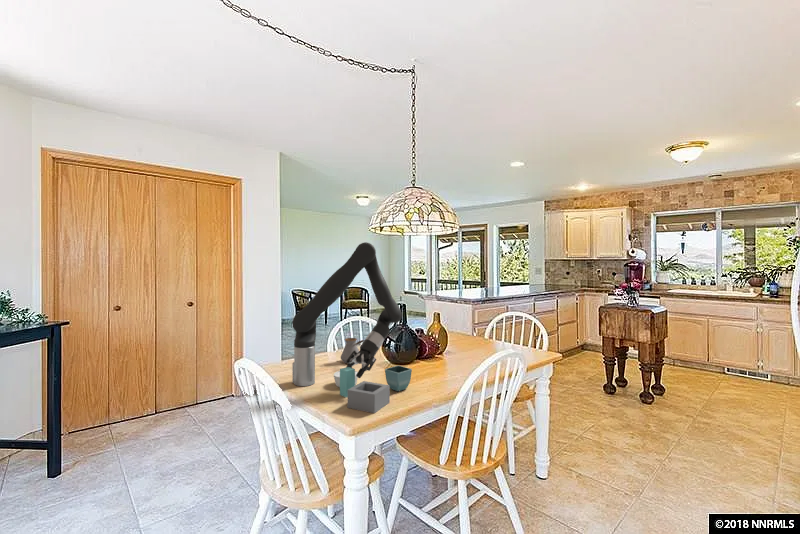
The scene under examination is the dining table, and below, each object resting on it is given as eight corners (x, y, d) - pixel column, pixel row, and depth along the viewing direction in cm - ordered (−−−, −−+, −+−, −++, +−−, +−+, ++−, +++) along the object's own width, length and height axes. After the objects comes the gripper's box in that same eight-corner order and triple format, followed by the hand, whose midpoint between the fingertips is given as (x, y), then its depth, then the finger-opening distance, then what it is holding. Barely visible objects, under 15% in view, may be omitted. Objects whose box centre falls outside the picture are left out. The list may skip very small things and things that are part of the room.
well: (347, 407, 150) (347, 389, 150) (363, 397, 161) (363, 381, 161) (374, 413, 145) (374, 394, 145) (389, 402, 156) (389, 385, 156)
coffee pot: (337, 361, 219) (337, 334, 218) (355, 358, 225) (355, 332, 224) (353, 370, 200) (353, 341, 200) (373, 367, 207) (373, 339, 206)
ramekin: (334, 389, 171) (334, 377, 171) (332, 382, 182) (332, 370, 182) (360, 387, 174) (360, 375, 174) (356, 380, 185) (356, 369, 185)
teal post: (339, 394, 165) (339, 368, 165) (348, 392, 168) (348, 366, 168) (346, 397, 162) (346, 371, 161) (354, 394, 165) (354, 369, 164)
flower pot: (384, 389, 172) (384, 368, 172) (398, 384, 178) (398, 365, 178) (397, 394, 166) (398, 373, 166) (412, 389, 172) (412, 369, 172)
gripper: (357, 336, 177) (336, 366, 169) (378, 341, 167) (356, 373, 159) (366, 346, 181) (346, 376, 173) (387, 351, 171) (367, 383, 163)
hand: (351, 374), depth 166 cm, fingers open, 8 cm apart
